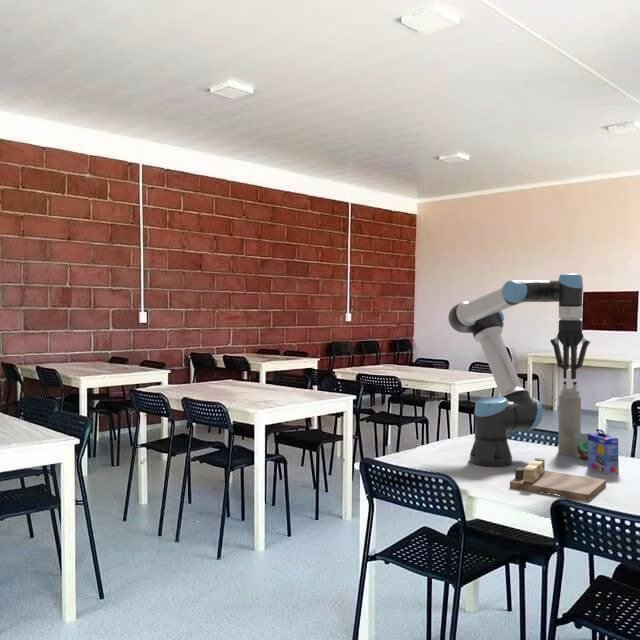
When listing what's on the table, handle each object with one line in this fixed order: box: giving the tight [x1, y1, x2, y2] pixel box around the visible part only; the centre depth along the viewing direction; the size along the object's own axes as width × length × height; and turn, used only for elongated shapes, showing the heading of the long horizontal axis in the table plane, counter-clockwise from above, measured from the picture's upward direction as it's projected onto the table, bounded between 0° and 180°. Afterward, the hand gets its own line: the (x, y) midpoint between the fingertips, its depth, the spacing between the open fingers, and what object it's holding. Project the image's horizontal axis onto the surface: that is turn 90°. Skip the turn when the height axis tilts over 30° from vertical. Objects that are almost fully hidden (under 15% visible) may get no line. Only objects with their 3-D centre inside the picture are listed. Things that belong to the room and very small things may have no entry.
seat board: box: [509, 466, 607, 502], centre depth 211 cm, size 24×20×5 cm
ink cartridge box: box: [587, 428, 620, 475], centre depth 231 cm, size 10×6×14 cm, turn 16°
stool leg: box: [523, 457, 546, 483], centre depth 215 cm, size 16×3×4 cm, turn 148°
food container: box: [575, 431, 610, 462], centre depth 246 cm, size 12×6×10 cm, turn 69°
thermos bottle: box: [557, 380, 582, 457], centre depth 256 cm, size 8×8×28 cm
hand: (569, 388), depth 226 cm, fingers closed
